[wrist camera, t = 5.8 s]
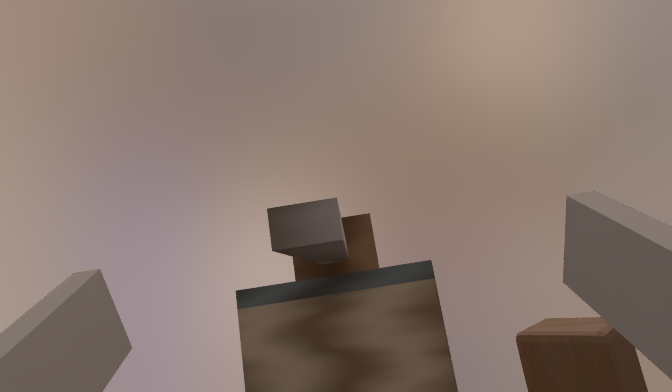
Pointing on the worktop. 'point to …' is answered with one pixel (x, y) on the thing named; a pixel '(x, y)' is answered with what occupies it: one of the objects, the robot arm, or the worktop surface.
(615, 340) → the wooden block
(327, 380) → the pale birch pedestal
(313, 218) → the walnut pull block
